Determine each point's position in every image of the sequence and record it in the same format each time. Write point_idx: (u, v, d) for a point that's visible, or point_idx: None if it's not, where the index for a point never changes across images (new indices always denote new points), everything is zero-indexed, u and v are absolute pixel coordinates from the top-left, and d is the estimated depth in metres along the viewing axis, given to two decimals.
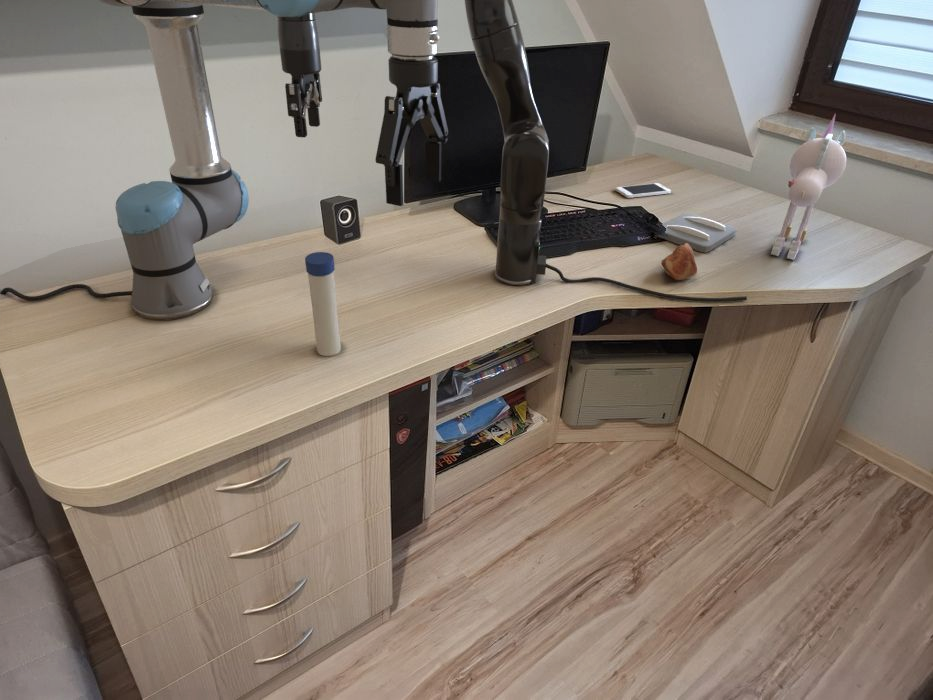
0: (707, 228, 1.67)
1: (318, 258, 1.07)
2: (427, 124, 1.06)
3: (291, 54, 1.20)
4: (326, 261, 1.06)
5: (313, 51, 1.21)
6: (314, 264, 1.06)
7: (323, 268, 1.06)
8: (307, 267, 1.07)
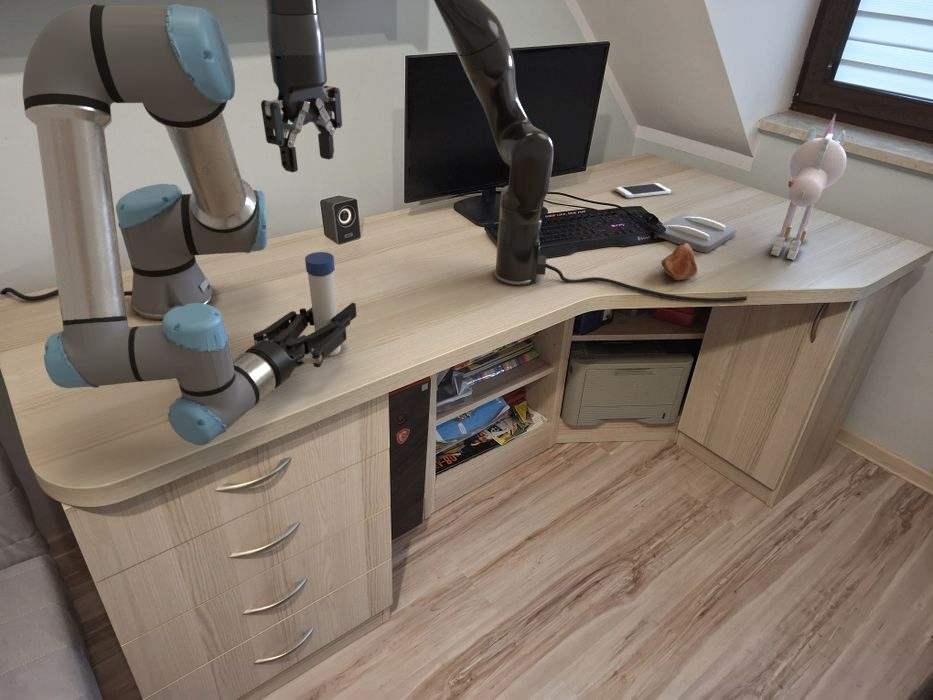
0: (707, 228, 1.67)
1: (318, 258, 1.07)
2: None
3: None
4: (326, 261, 1.06)
5: None
6: (314, 264, 1.06)
7: (323, 268, 1.06)
8: (307, 267, 1.07)
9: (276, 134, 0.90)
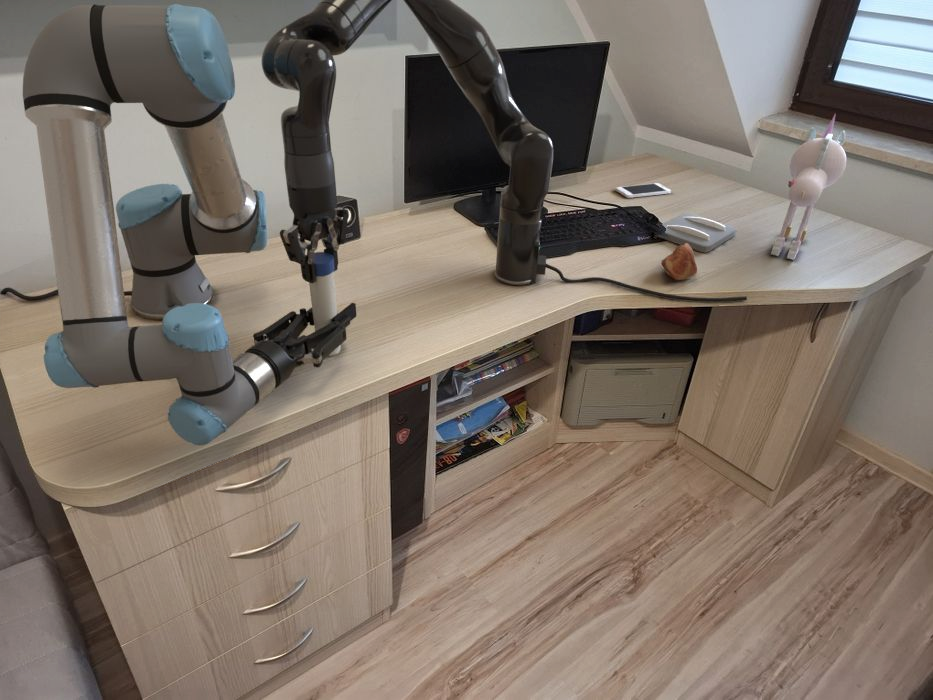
0: (707, 228, 1.67)
1: (318, 258, 1.07)
2: None
3: None
4: (326, 261, 1.06)
5: None
6: None
7: (323, 268, 1.06)
8: None
9: (297, 257, 1.01)
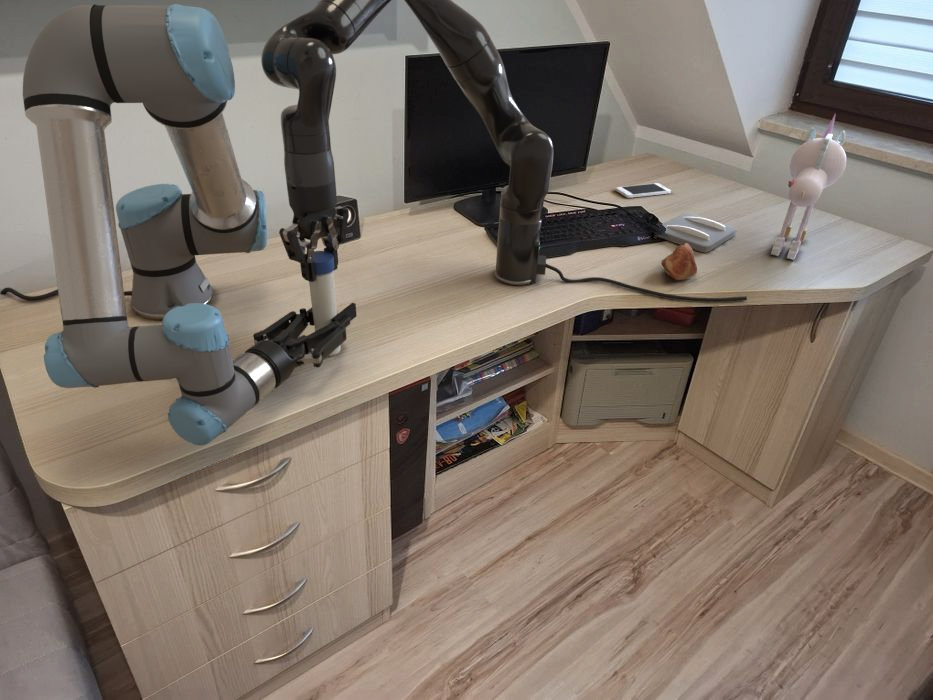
0: (707, 228, 1.67)
1: (319, 257, 1.07)
2: None
3: None
4: (330, 255, 1.08)
5: None
6: (329, 261, 1.06)
7: (333, 262, 1.08)
8: (320, 268, 1.06)
9: (296, 255, 1.01)
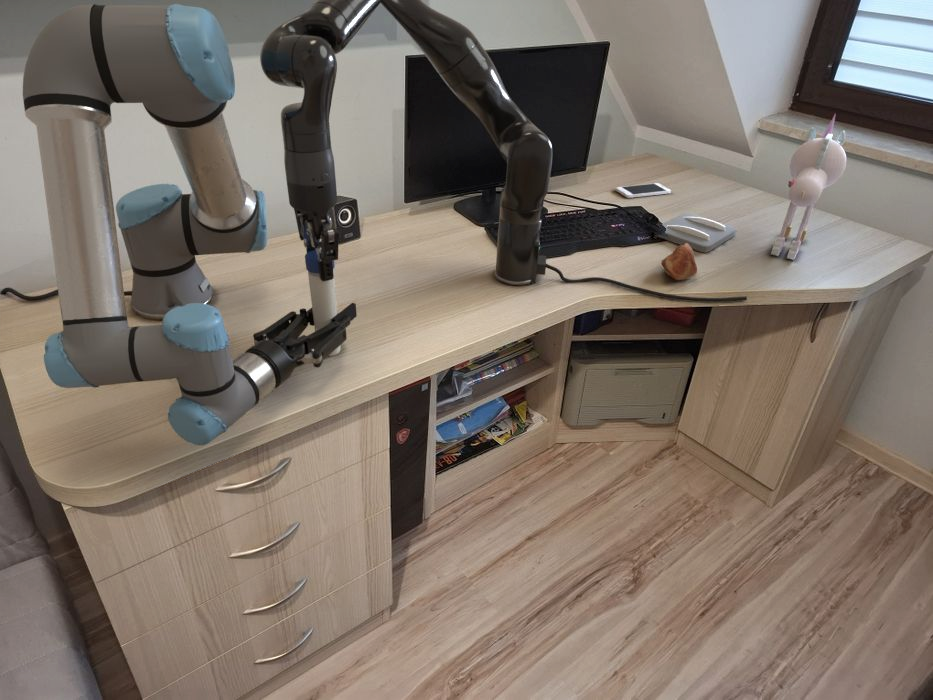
0: (707, 228, 1.67)
1: None
2: None
3: None
4: None
5: None
6: None
7: None
8: (333, 262, 1.07)
9: (337, 252, 1.02)
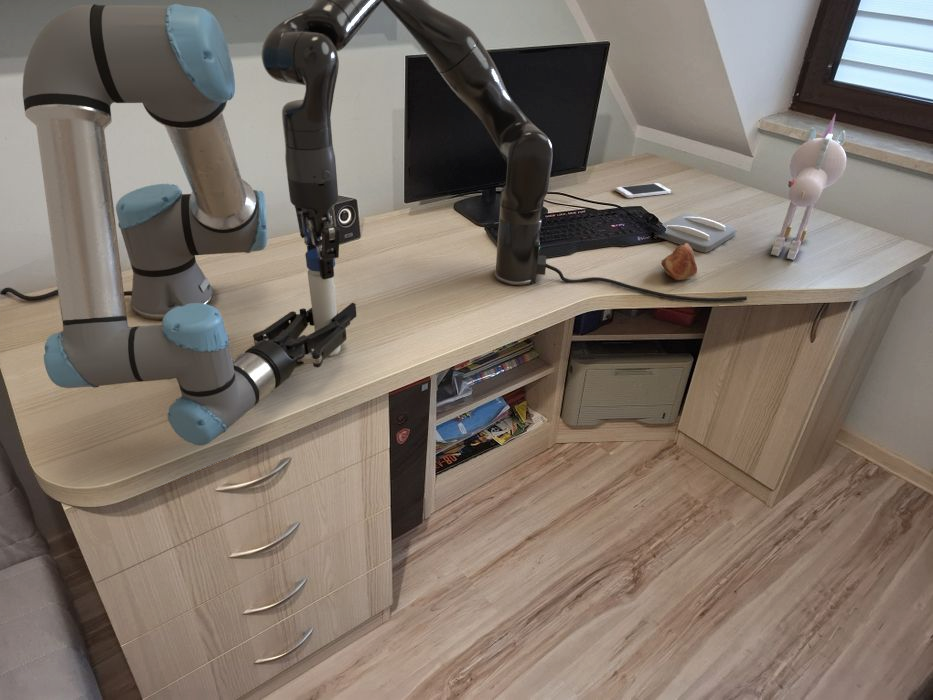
0: (707, 228, 1.67)
1: None
2: None
3: None
4: (310, 250, 1.07)
5: None
6: None
7: None
8: None
9: (337, 250, 1.02)
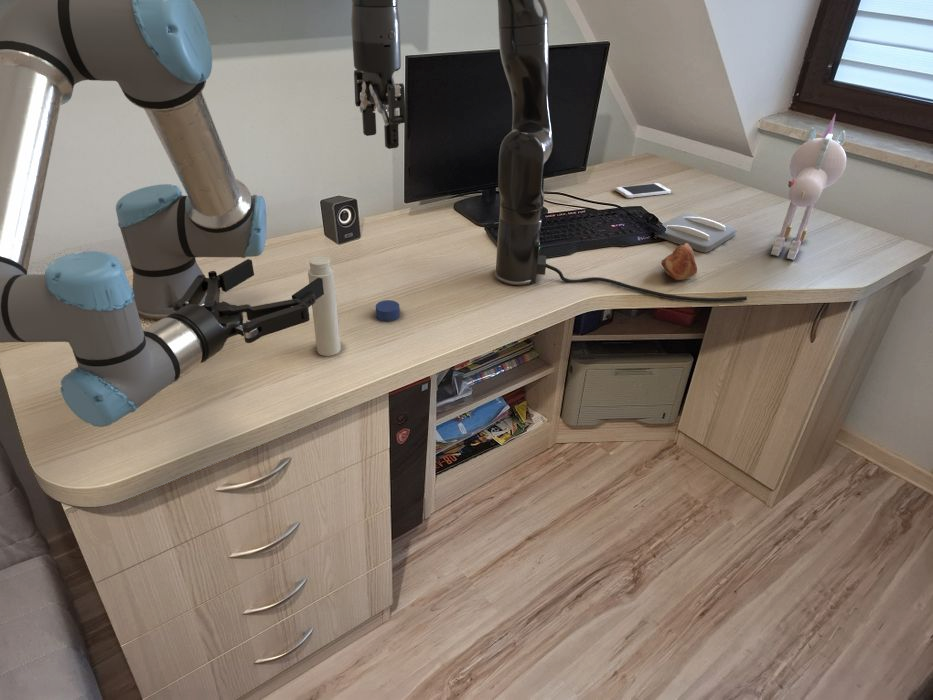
0: (707, 228, 1.67)
1: (387, 305, 1.28)
2: None
3: None
4: (379, 303, 1.28)
5: None
6: None
7: None
8: None
9: (404, 112, 1.02)
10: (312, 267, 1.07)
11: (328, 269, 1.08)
